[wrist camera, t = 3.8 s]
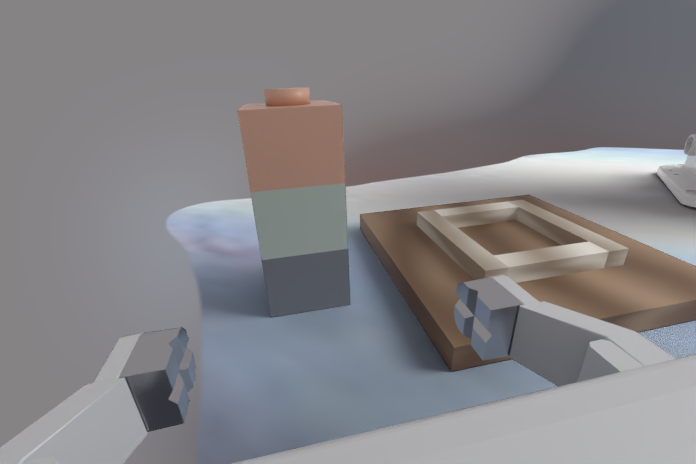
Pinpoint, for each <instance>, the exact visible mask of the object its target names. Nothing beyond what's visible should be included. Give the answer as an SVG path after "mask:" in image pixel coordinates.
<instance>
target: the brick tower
mask: <svg viewBox="0 0 696 464" xmlns="http://www.w3.org/2000/svg"><path fill="white" fill-rule="evenodd" d="M264 94H265V102H266V103H260V104H244V105H243V106H242V107H241V108H240V109H238V116H239V123H240V129H241V135H242V142H243V148H244V154H245V160H246V166H247V173H248V178H249V185H250V191H251V198H252V204H253V210H254V216H255V222H256V229H257V235H258V241H259V247H260V253H261V260H262V266H263V272H264V278H265V284H266V291H267V297H268V303H269V309H270V315H271V317H277V316H283V315H289V314H295V313H302V312H308V311H314V310H320V309H326V308H332V307H338V306H345V305H350V283H349V260H348V236H347V212H346V188H345V166H344V143H343V142H344V141H343V117H342V105H341V104H338V103H334V102H331V101H327V100H318V101H310V94H309V88H282V89H266V90H264Z"/></svg>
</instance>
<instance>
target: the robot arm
mask: <svg viewBox="0 0 696 464" xmlns="http://www.w3.org/2000/svg"><path fill="white" fill-rule="evenodd" d="M684 153H685V154H686V155H688V156H687V159H686V162H685V164H680V165H665V166H660V167H659V168H658V170H657V172H656V173H657V175H658V176H659V177H660V178H661V180H662V181H663V182H664V183H665V184H666V186H667V187H668V188H669V189H670V191H671V192H672V193H673V194H674V195H675V197H676V198H677V199H678V200H679V202H680V203H682V204H684V205H687V206H691V207H695V208H696V134H693V135H691V136H689V138H688V139H687V142H686V145H685V148H684ZM456 295H457V296H458V298H459V301H458V302H457V303H456V305H455V306H454V317H455V322H456V325H457V327H458V329H459V330H460V332H461V333H462V334H463V335H464V336H466V337H468V338H470V339H471V346H472V347H473V349H474V350H475V351H476V352H477V354H478V355H479V356H480V357H481V359H482V360H483V361H484V360H489V359H495V358H501V357H506V356H509V358H511V359H513V360H515V361H516V362H518V363H520V364H521V365H523V366H525V367H526V368H528V369H530V370H531V371H533V372H535V373H536V374H538V375H540V376H541V377H543V378H545V379H547V380H548V381H550V382H552V383H553V384H555V385H557V386H558V387H555V388H550V389H546V390H542V391H538V392H534V393H529V394H525V395H521V396H517V397H512V398H508V399H504V400H500V401H495V402H491V403H487V404H482V405H478V406H474V407H469V408H465V409H461V410H457V411H452V412H448V413H444V414H439V415H435V416H431V417H427V418H422V419H418V420H414V421H410V422H405V423H401V424H397V425H393V426H388V427H384V428H380V429H376V430H371V431H367V432H363V433H359V434H354V435H350V436H346V437H342V438H337V439H333V440H329V441H325V442H320V443H316V444H312V445H308V446H303V447H299V448H295V449H291V450H286V451H282V452H278V453H274V454H269V455H265V456H261V457H257V458H252V459H248V460H244V461H240V462H235V463H231V464H696V354H695V355H691V356H686V357H682V358H678V359H676V358H674V357H673V356H671V355H670V354H668V353H667V352H665V351H664V350H662V349H661V348H659V347H658V346H656V345H655V344H653V343H652V342H650V341H649V340H647V339H646V338H645V337H643V336H642V335H640V334H639V333H637V332H636V331H633V330H630V329H627V328H624V327H621V326H618V325H615V324H612V323H608V322H605V321H602V320H599V319H596V318H593V317H590V316H587V315H584V314H581V313H578V312H575V311H572V310H569V309H566V308H563V307H560V306H557V305H554V304H551V303H548V302H545V301H543V302H539V301H538V300H536V299H535V298H534V297H533V296H531V295H530V294H529V293H528V292H526V291H525V290H524V289H523V288H521V287H520V286H519V285H518V284H516V283H515V282H514V281H513V280H511V279H510V278H509V277H508V276H505V275H497V276H492V277H488V278H484V279H478V280H472V281H466V282H460V283H458V285H457V288H456ZM188 340H189V338H188V336H187V332H186V330H185V329H184V328H182V327H180V328H174V329H166V330H159V331H153V332H145V333H139V334H133V335H126V336H123V337H121V338H119V340H118V341H117V343H116V345H115V346H114V348H113V350H112V351H111V353H110V355H109V356H108V358H107V360H106V362H105V363H104V365H103V367H102V369H101V370H100V372H99V374H98V375H97V377H96V379H95V381H94V382H93V383H91V384H86V385H85V386H83V387H82V388H80V389H79V390H78V391H76V392H75V393H74V394H72V395H71V396H70V397H68V398H67V399H66V400H64V401H63V402H61V403H60V404H59V405H57V406H56V407H55V408H54V409H52V410H51V411H49V412H48V413H46V414H45V415H44V416H42V417H41V418H40V419H38V420H37V421H36V422H35V423H33V424H32V425H30V426H29V427H27V428H26V429H25V430H23V431H22V432H21V433H19V434H18V435H17V436H15V437H14V438H12V439H11V440H10V441H9V442H7V443H6V444H4V445H3V446H2V447H0V464H123V463H124V462H125V461H126V460H127V458H128V457H129V456H130V455H131V454H132V452H133V451H134V450H135V449H136V447H137V446H138V445H139V444H140V443H141V441H142V440H143V439H144V438H145V437H146V435H147V434H148V433H147V432H149V431H154V430H157V429H162V428H166V427H170V426H175V425H179V424H183V423H184V421H185V418H186V414H187V410H188V406H189V402H190V400H189V397H188V394H187V393H188V392H189V390H191V389H192V388H193V385H194V381H195V368H196V367H195V360H194V355H193V352H192V351H191V350H189V349H188V348H186V346H187V343H188Z"/></svg>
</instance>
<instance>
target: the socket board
mask: <svg viewBox="0 0 696 464" xmlns="http://www.w3.org/2000/svg"><path fill="white" fill-rule="evenodd" d="M360 229H361V231H362V232H363V234H364V235H365V237H366V239H367V240H368V242H369V243H370V245H371V246H372V248H373V249H374V251H375V253H376V254H377V256H378V257H379V259H380V260H381V262H382V264H383V265H384V267H385V268H386V270H387V271H388V273H389V275H390V276H391V278H392V279H393V281H394V282H395V284H396V286H397V287H398V289H399V290H400V292H401V293H402V295H403V296H404V298H405V300H406V301H407V303H408V304H409V306H410V307H411V309H412V311H413V312H414V314H415V315H416V317H417V318H418V320H419V322H420V323H421V325H422V326H423V328H424V329H425V331H426V332H427V334H428V336H429V337H430V339H431V340H432V342H433V343H434V345H435V347H436V348H437V350H438V351H439V353H440V354H441V356H442V358H443V359H444V361H445V362H446V364H447V365H448V367H449V368H450V370H451V372H452V371H456V370H461V369H466V368H471V367H475V366H480V365H485V364H490V363H494V362H499V361H504V360H508V359H511V358H509V356H506V357H501V358H495V359H489V360H484V361H483V360H482V359H481V357H480V356H479V355H478V354H477V352H476V351H475V350H474V349H473V347H472V346H471V339H470V338H468V337H466V336H464V335H463V334H462V333H461V332H460V330H459V329H458V327H457V325H456V322H455V317H454V306H455V305H456V303H457V302H458V301H459V298H458V296H457V295H456V288H457V285H458V283H460V282H466V281H472V280H478V279H484V278H488V277H492V276H497V275H505V276H508V277H509V278H510V279H511V280H513V281H514V282H515V283H516V284H518V285H519V286H520V287H521V288H523V289H524V290H525V291H526V292H528V293H529V294H530V295H531V296H533V297H534V298H535V299H536V300H538V301H539V302H543V301H545V302H548V303H551V304H554V305H557V306H560V307H563V308H566V309H569V310H572V311H575V312H578V313H581V314H584V315H587V316H590V317H593V318H596V319H599V320H602V321H605V322H608V323H612V324H615V325H618V326H621V327H624V328H627V329H630V330H633V331H636V332H641V331H646V330H651V329H655V328H660V327H665V326H670V325H674V324H679V323H684V322H689V321H693V320H696V266H694V265H692V264H689V263H687V262H685V261H682V260H680V259H678V258H675V257H673V256H671V255H668V254H666V253H664V252H661V251H659V250H657V249H654V248H652V247H650V246H647V245H645V244H643V243H640V242H638V241H636V240H633V239H631V238H629V237H626V236H624V235H622V234H619V233H617V232H615V231H612V230H610V229H607V228H605V227H603V226H600V225H598V224H596V223H593V222H591V221H589V220H586V219H584V218H582V217H579V216H577V215H575V214H572V213H570V212H568V211H565V210H563V209H561V208H558V207H556V206H554V205H551V204H549V203H547V202H544V201H542V200H540V199H537V198H535V197H533V196H530V195H523V196H514V197H505V198H497V199H488V200H479V201H471V202H462V203H453V204H445V205H436V206H427V207H418V208H410V209H401V210H392V211H384V212H375V213H366V214H360Z"/></svg>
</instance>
